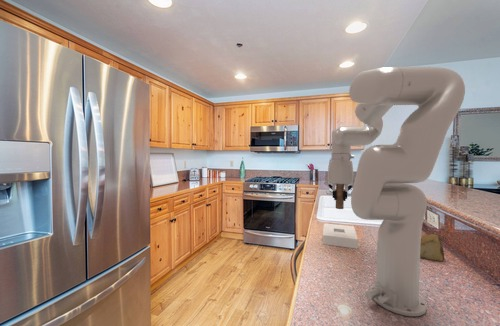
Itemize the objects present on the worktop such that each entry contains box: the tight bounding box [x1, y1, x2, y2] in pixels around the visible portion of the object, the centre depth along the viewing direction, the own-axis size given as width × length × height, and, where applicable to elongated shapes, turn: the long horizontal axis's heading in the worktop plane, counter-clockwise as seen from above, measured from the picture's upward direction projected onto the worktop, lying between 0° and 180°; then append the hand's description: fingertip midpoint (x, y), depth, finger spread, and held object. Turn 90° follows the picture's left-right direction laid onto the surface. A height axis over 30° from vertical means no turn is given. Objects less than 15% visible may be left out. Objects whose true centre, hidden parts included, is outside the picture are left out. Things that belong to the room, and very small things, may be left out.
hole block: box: [321, 222, 359, 250], centre depth 102 cm, size 18×14×4 cm
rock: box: [420, 233, 445, 262], centre depth 84 cm, size 11×9×10 cm
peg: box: [335, 184, 345, 210], centre depth 95 cm, size 3×3×11 cm
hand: (339, 199), depth 95 cm, fingers closed on peg, 3 cm apart
